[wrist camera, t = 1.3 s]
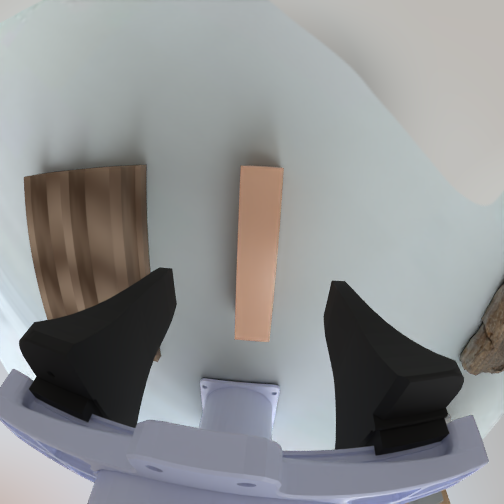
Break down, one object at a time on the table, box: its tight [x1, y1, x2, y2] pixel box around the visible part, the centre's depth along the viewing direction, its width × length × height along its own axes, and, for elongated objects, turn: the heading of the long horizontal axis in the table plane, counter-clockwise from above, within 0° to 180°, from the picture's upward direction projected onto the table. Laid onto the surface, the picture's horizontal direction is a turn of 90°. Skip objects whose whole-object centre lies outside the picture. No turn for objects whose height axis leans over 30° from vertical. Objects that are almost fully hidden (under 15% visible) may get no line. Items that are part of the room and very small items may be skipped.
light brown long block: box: [235, 165, 284, 342], centre depth 20 cm, size 12×2×4 cm, turn 177°
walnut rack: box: [24, 165, 161, 362], centre depth 21 cm, size 18×12×3 cm, turn 177°
